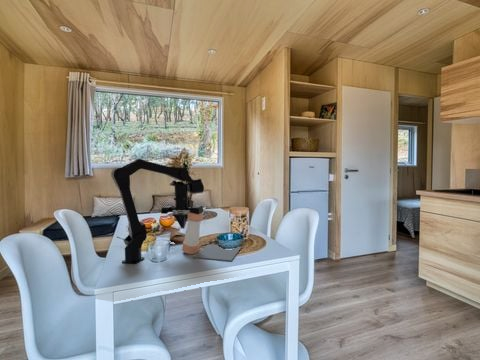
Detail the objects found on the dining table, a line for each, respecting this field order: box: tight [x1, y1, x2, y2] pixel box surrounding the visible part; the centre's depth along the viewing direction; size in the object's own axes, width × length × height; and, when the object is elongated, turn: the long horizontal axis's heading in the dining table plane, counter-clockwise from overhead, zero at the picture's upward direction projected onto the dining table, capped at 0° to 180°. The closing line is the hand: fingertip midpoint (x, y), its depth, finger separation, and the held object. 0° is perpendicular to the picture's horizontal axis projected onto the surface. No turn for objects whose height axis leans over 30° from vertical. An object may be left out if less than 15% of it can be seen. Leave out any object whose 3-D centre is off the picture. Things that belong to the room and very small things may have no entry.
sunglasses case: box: [169, 229, 185, 245], centre depth 139 cm, size 18×7×7 cm
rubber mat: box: [193, 243, 243, 262], centre depth 118 cm, size 18×17×1 cm
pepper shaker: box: [181, 213, 204, 255], centre depth 117 cm, size 7×7×19 cm
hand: (182, 228), depth 120 cm, fingers closed
